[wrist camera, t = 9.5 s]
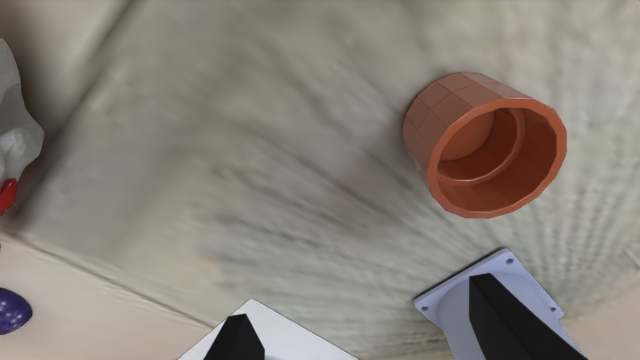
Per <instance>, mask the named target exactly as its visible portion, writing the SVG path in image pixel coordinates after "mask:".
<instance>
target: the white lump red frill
mask: <svg viewBox="0 0 640 360" xmlns="http://www.w3.org/2000/svg"><path fill="white" fill-rule="evenodd" d="M44 134H45V133H44V131H43V129H42V127H41V126H40V125H39V124H38V123H37V122H36V121H35V120H34V119H33V118H32V116H31V115H30V114H29V113H28V111H27V110H26V108H25V104H24V101H23V97H22V93H21V78H20V75H19V72H18V68H17V65H16V62H15V59H14V56H13V54H12V52H11V50H10V49H9V47H8V45H7V43H6V42H5V41H4V40H3V39H1V38H0V216H2V214H3V213H4V211H5V209H7V208H9V207H11V205H12V203H13V202H14V201H15V196H16V191H17V186H18V180H19V178H20V176H21V174H22V172H23V170H24V168H25V166H27V165H28V164H29V163H30V162H32V161H33V160H34V159H35V158H37V157H38V156H39V154H40V151H41V149H42V144H43V139H44ZM0 246H1V245H0Z"/></svg>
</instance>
